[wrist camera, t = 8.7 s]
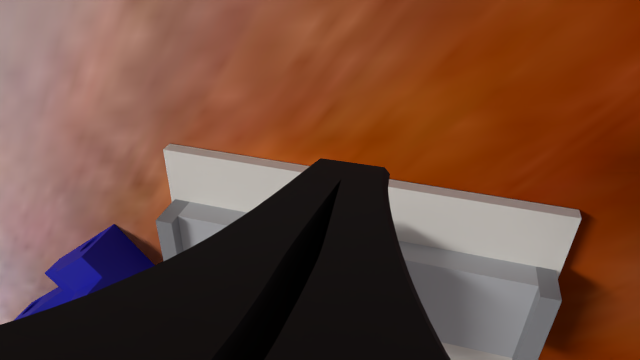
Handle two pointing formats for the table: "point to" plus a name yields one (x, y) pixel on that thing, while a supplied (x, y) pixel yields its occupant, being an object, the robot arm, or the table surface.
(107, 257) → the cable clip
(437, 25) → the table surface
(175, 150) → the rail board
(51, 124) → the table surface
